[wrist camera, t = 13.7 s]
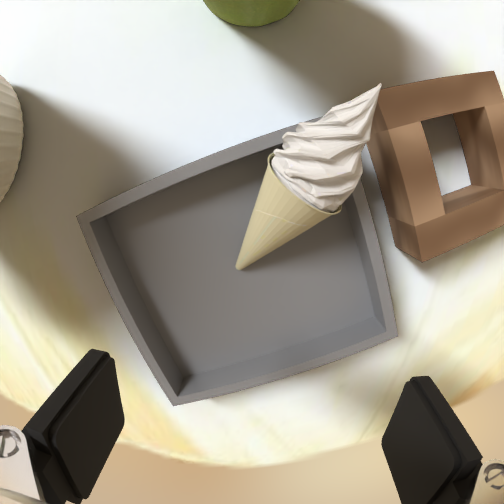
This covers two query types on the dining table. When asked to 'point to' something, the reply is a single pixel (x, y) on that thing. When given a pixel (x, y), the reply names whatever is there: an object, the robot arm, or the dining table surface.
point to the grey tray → (236, 278)
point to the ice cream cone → (309, 176)
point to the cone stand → (422, 168)
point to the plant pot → (251, 10)
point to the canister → (9, 135)
